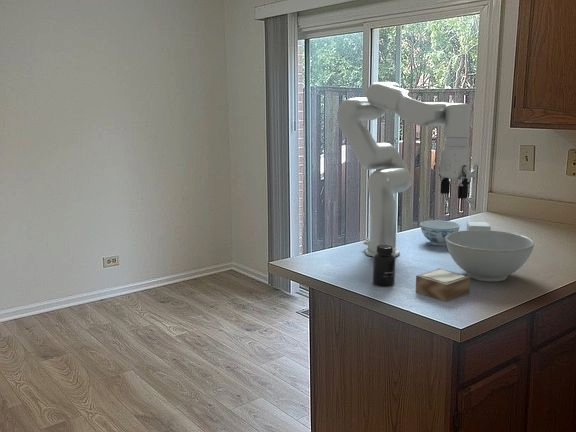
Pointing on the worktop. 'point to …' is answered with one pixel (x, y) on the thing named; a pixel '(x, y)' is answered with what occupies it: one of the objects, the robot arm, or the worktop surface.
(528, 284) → the worktop surface
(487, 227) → the supplement box
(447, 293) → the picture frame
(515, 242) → the decorative bowl
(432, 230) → the chinaware
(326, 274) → the worktop surface
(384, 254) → the supplement bottle
